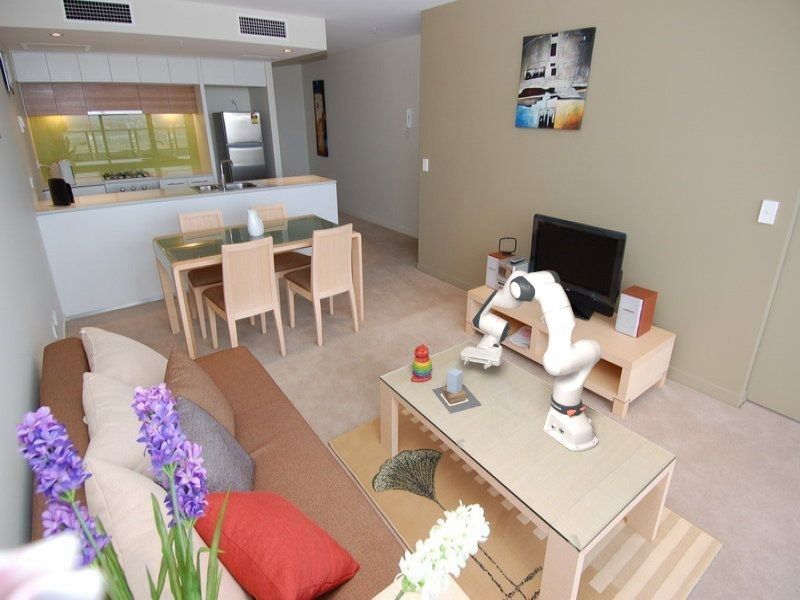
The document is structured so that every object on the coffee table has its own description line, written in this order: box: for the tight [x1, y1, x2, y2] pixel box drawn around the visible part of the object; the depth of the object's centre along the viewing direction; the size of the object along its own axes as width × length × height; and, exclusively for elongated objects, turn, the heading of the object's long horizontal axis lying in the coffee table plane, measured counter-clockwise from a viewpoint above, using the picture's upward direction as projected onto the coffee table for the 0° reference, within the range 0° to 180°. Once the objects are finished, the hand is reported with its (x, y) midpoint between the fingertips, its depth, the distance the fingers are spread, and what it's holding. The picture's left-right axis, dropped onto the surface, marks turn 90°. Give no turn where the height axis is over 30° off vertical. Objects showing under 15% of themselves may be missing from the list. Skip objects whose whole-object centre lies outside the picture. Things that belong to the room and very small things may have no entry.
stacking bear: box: [410, 343, 433, 384], centre depth 228 cm, size 11×10×18 cm
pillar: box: [446, 367, 464, 395], centre depth 211 cm, size 5×5×10 cm
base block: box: [443, 386, 466, 404], centre depth 213 cm, size 8×8×4 cm
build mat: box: [431, 382, 483, 415], centre depth 215 cm, size 20×16×1 cm
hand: (474, 366), depth 217 cm, fingers open, 8 cm apart
